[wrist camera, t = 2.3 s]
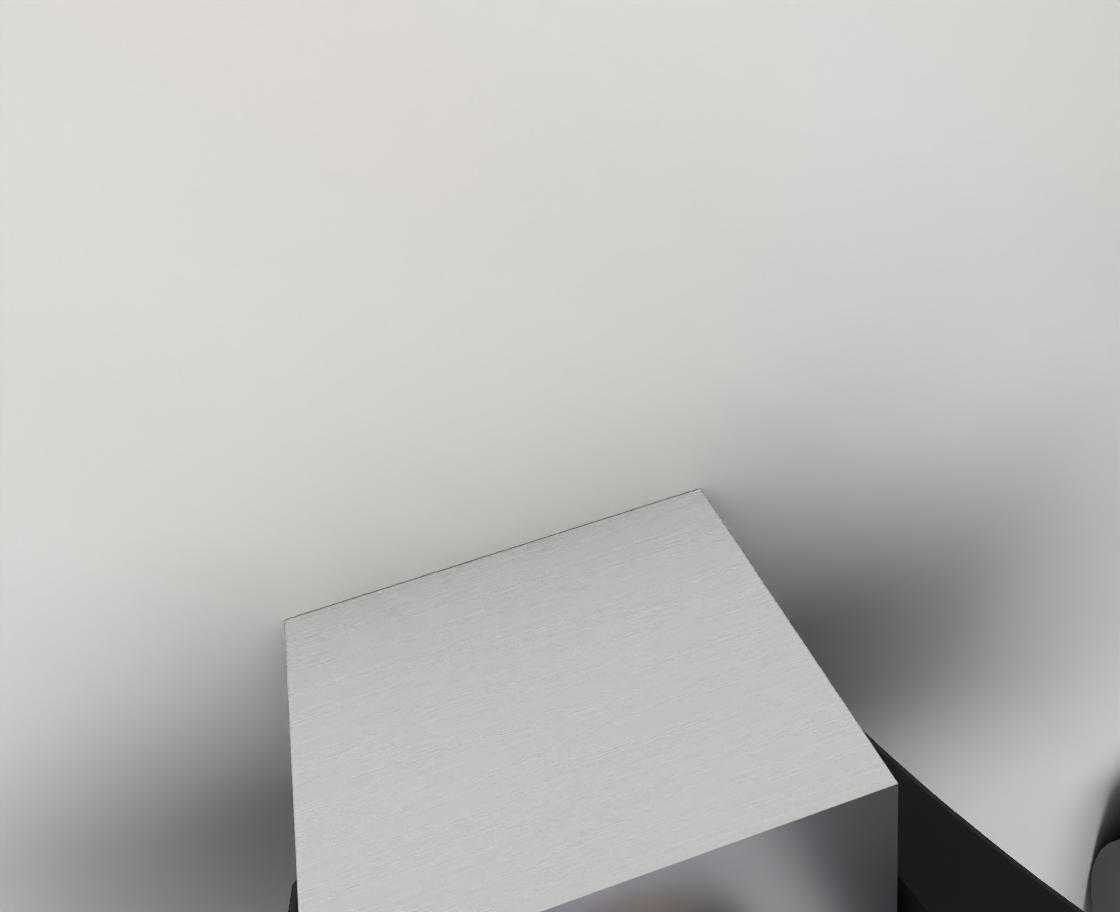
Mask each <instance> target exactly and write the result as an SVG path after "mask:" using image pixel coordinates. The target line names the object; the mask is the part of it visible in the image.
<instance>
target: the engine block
mask: <svg viewBox="0 0 1120 912" xmlns="http://www.w3.org/2000/svg"><path fill="white" fill-rule="evenodd" d="M285 638H286V659H287V680H288V701H289V722H290V743H291V764H292V785H293V806H294V827H295V848H296V869H297V890H298V911H299V912H897V851H898V783H897V781H896V780H895V778H894V777H893V775H892V774H891V772H890V771H889V769H888V768H887V766H886V765H885V763H884V762H883V760H882V759H881V757H880V756H879V754H878V753H877V751H876V750H875V748H874V747H873V745H872V744H871V742H870V741H869V740H868V738H867V737H866V735H865V734H864V732H863V731H862V729H861V728H860V726H859V725H858V723H857V722H856V720H855V719H854V717H853V716H852V714H851V713H850V711H849V710H848V708H847V707H846V705H845V704H844V702H843V701H842V699H841V698H840V696H839V695H838V693H837V692H836V690H835V689H834V687H833V686H832V684H831V683H830V681H829V680H828V678H827V677H826V675H825V674H824V672H823V671H822V669H821V668H820V666H819V665H818V664H817V662H816V661H815V659H814V658H813V656H812V655H811V653H810V652H809V650H808V649H807V647H806V646H805V644H804V643H803V641H802V640H801V638H800V637H799V635H798V634H797V632H796V631H795V629H794V628H793V626H792V625H791V623H790V622H789V620H788V619H787V617H786V616H785V614H784V613H783V611H782V610H781V608H780V607H779V605H778V604H777V602H776V601H775V599H774V598H773V596H772V595H771V593H770V592H769V590H768V589H767V588H766V586H765V585H764V583H763V582H762V580H761V579H760V577H759V576H758V574H757V573H756V571H755V570H754V568H753V567H752V565H751V564H750V562H749V561H748V559H747V558H746V556H745V555H744V553H743V552H742V550H741V549H740V547H739V546H738V544H737V543H736V541H735V540H734V538H733V537H732V535H731V534H730V532H729V531H728V529H727V528H726V526H725V525H724V523H723V522H722V520H721V519H720V517H719V516H718V514H717V513H716V512H715V510H714V509H713V507H712V506H711V504H710V503H709V501H708V500H707V498H706V497H705V495H704V494H703V492H702V491H701V489H698V490H695V491H692V492H688V493H685V494H682V495H679V496H676V497H673V498H670V499H666V500H663V501H660V502H657V503H654V504H651V505H647V506H644V507H641V508H638V509H635V510H632V511H628V512H625V513H622V514H619V515H616V516H613V517H610V518H606V519H603V520H600V521H597V522H594V523H591V524H587V525H584V526H581V527H578V528H575V529H572V530H568V531H565V532H562V533H559V534H556V535H553V536H550V537H546V538H543V539H540V540H537V541H534V542H531V543H527V544H524V545H521V546H518V547H515V548H512V549H508V550H505V551H502V552H499V553H496V554H493V555H490V556H486V557H483V558H480V559H477V560H474V561H471V562H467V563H464V564H461V565H458V566H455V567H452V568H448V569H445V570H442V571H439V572H436V573H433V574H430V575H426V576H423V577H420V578H417V579H414V580H411V581H407V582H404V583H401V584H398V585H395V586H392V587H388V588H385V589H382V590H379V591H376V592H373V593H370V594H366V595H363V596H360V597H357V598H354V599H351V600H347V601H344V602H341V603H338V604H335V605H332V606H328V607H325V608H322V609H319V610H316V611H313V612H310V613H306V614H303V615H300V616H297V617H294V618H291V619H287V620H285Z"/></svg>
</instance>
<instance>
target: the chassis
mask: <svg viewBox="0 0 1120 912" xmlns="http://www.w3.org/2000/svg"><path fill="white" fill-rule="evenodd" d="M1091 901H1092V908H1093V912H1120V839H1118V840H1116V841H1113V842H1111V843H1108V844H1107V845H1106V846H1105V847H1104V848H1102V849H1101V851H1100V852H1099V854H1098V855H1097V857H1096V859H1095V862H1094V865H1093V869H1092V876H1091Z"/></svg>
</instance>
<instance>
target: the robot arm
mask: <svg viewBox="0 0 1120 912" xmlns="http://www.w3.org/2000/svg"><path fill="white" fill-rule="evenodd" d="M862 731H863V730H862ZM863 732H864V731H863ZM864 734H865V735H866V737H867V738H868V740H869V741H870V742H871V744H872V745H873V747H874V748H875V750H876V751H877V753H878V754H879V756H880V757H881V759H882V760H883V762H884V763H885V765H886V766H887V768H888V769H889V771H890V772H891V774H892V775H893V777H894V778H895V780H896V781H897V783H898V851H897V912H1084V911H1082V910H1081V909H1079V908H1078V907H1077V906H1075V905H1074V904H1073V903H1071V902H1070V901H1069V900H1067V899H1066V898H1064V897H1063V896H1062V895H1060V894H1059V893H1058V892H1056V891H1055V890H1054V889H1052V888H1051V887H1050V886H1048V885H1047V884H1045V883H1044V882H1043V881H1041V880H1040V879H1039V878H1038V877H1036V876H1035V875H1034V874H1032V873H1031V872H1030V871H1028V870H1027V869H1026V868H1025V867H1023V866H1022V865H1021V864H1019V863H1018V862H1017V861H1015V860H1014V859H1013V858H1012V857H1010V856H1009V855H1008V854H1006V853H1005V852H1004V851H1003V850H1002V849H1000V848H999V847H998V846H997V845H995V844H994V843H993V842H992V841H990V840H989V839H988V838H987V837H985V836H984V835H983V834H982V833H981V832H979V831H978V830H977V829H976V828H974V827H973V826H972V825H971V824H969V823H968V822H967V821H966V820H964V819H963V818H962V817H961V816H959V815H958V814H957V813H956V812H955V811H953V810H952V809H951V808H950V807H949V806H947V805H946V804H945V803H944V802H943V801H941V800H940V799H939V798H938V797H937V796H936V795H934V794H933V793H932V792H931V791H930V790H929V789H927V788H926V787H925V786H924V785H923V784H922V783H921V782H919V781H918V780H917V779H916V778H915V777H914V776H913V775H911V774H910V773H909V772H908V771H907V770H906V769H905V768H903V767H902V766H901V765H900V764H899V763H898V762H897V761H896V760H894V759H893V758H892V757H891V756H890V755H889V754H888V753H887V752H886V751H885V750H883V749H882V748H881V747H880V746H879V745H878V744H877V743H876V742H875V741H874V740H873V739H871V738H870V737H869V736H868V735H867V734H866V733H865V732H864ZM288 912H299V911H298V890H297V880H296V881H295V883H294V884H293V885H292V892H291V898H290V905H289V911H288Z"/></svg>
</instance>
